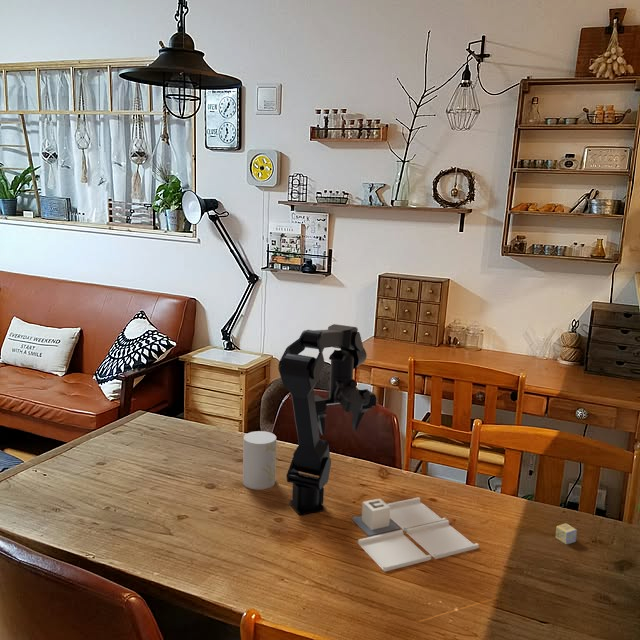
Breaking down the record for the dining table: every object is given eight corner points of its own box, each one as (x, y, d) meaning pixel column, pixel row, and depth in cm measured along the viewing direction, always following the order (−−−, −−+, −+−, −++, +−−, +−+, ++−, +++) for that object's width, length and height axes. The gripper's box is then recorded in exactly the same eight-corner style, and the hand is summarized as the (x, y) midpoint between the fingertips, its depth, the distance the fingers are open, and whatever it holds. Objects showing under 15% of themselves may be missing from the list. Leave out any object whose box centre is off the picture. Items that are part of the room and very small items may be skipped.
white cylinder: (270, 491, 158) (271, 445, 155) (238, 487, 159) (239, 441, 157) (278, 477, 165) (280, 433, 163) (248, 473, 167) (249, 429, 165)
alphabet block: (565, 545, 139) (567, 532, 138) (554, 538, 142) (556, 525, 141) (575, 542, 140) (577, 529, 140) (564, 535, 143) (566, 522, 143)
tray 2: (384, 572, 126) (384, 567, 126) (357, 543, 136) (357, 539, 136) (430, 560, 131) (431, 556, 131) (401, 533, 141) (402, 529, 141)
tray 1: (405, 532, 141) (405, 528, 141) (379, 509, 151) (379, 505, 151) (445, 522, 146) (446, 518, 146) (418, 501, 156) (418, 497, 156)
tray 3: (435, 559, 131) (435, 555, 131) (406, 533, 141) (406, 529, 141) (478, 548, 136) (478, 544, 136) (447, 523, 146) (447, 519, 146)
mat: (368, 537, 139) (368, 535, 139) (351, 519, 146) (351, 517, 146) (399, 529, 142) (400, 528, 142) (381, 513, 149) (381, 511, 149)
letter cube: (371, 529, 141) (372, 510, 140) (361, 520, 145) (362, 501, 144) (389, 525, 143) (390, 507, 142) (378, 516, 147) (379, 498, 146)
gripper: (322, 387, 151) (319, 449, 154) (390, 379, 159) (386, 439, 162) (302, 374, 160) (300, 433, 164) (367, 367, 168) (364, 424, 172)
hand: (338, 432), depth 165 cm, fingers open, 9 cm apart
